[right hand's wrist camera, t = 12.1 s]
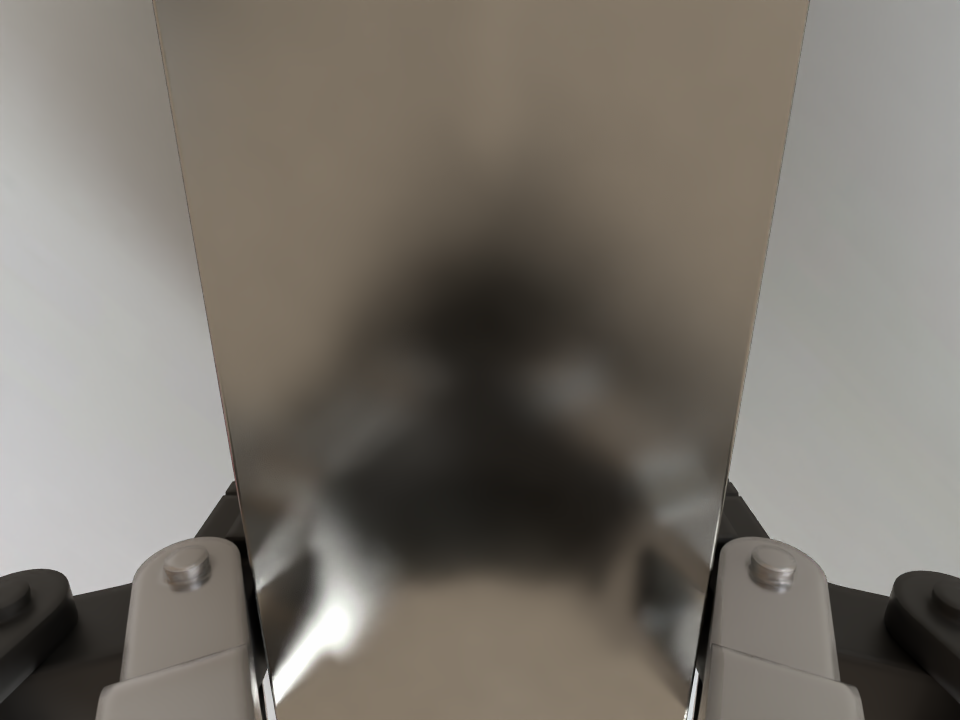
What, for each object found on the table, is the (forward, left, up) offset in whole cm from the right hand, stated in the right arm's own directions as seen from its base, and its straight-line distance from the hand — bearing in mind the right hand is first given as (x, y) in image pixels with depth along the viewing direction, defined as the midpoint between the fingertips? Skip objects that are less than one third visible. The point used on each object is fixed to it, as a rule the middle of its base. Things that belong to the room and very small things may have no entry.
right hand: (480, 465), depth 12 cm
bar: (+8, +2, -4) cm, 9 cm away
